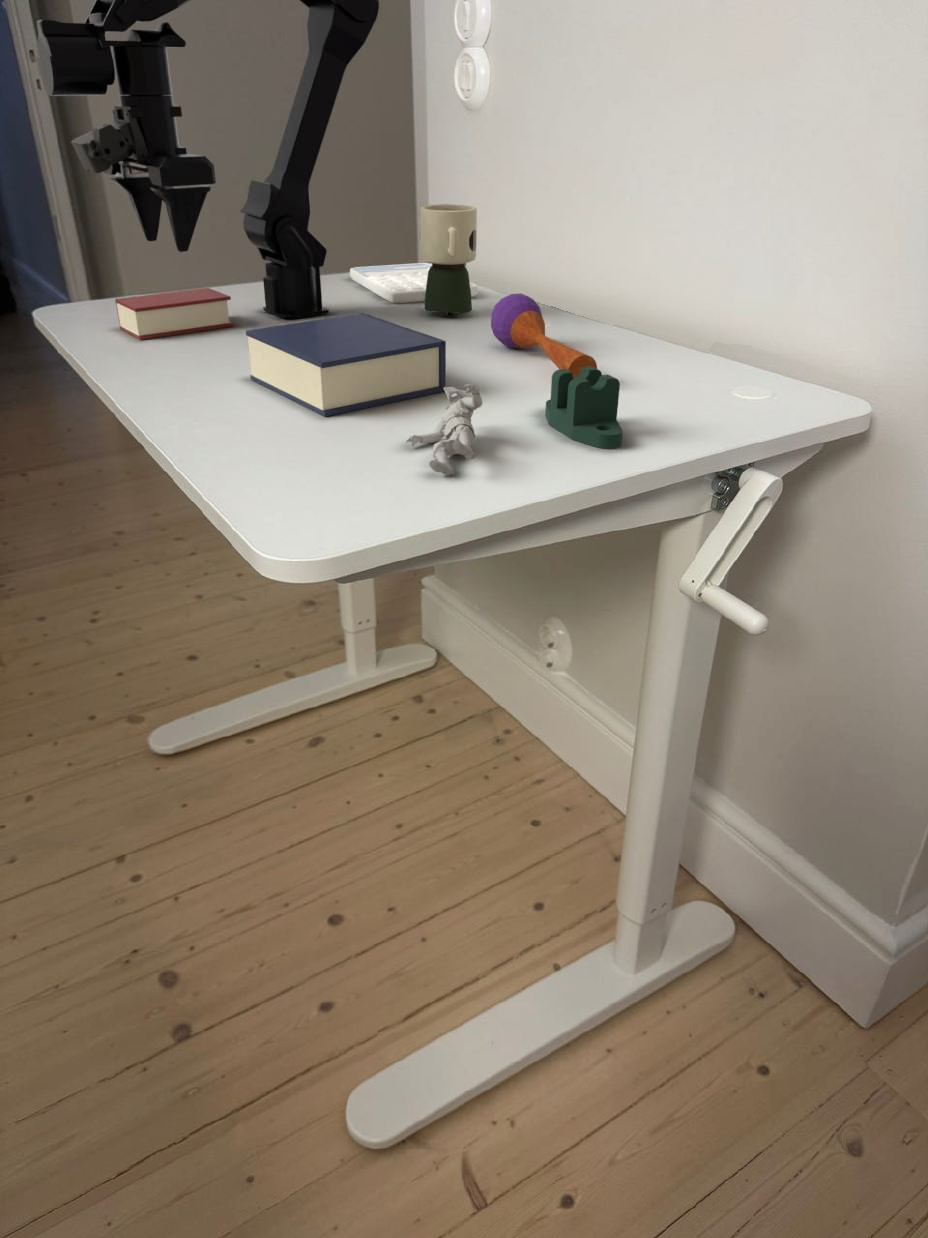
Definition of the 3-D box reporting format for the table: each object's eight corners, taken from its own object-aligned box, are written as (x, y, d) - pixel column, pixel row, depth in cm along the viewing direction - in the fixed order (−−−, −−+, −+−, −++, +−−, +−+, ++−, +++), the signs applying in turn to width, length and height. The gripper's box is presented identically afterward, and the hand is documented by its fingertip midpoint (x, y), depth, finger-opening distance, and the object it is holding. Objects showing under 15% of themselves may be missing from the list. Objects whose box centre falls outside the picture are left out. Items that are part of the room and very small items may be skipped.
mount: (531, 414, 90) (534, 360, 87) (573, 408, 91) (576, 356, 89) (591, 451, 81) (596, 393, 79) (636, 444, 83) (642, 387, 80)
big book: (364, 358, 106) (363, 312, 103) (445, 390, 96) (446, 340, 93) (250, 379, 98) (245, 330, 96) (325, 416, 88) (321, 362, 86)
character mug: (481, 322, 122) (483, 212, 115) (425, 324, 121) (425, 213, 114) (468, 304, 131) (470, 201, 124) (417, 305, 130) (415, 202, 123)
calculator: (391, 304, 130) (391, 290, 129) (347, 278, 146) (347, 265, 145) (480, 297, 135) (480, 283, 134) (428, 272, 151) (428, 259, 150)
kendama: (553, 350, 94) (479, 294, 110) (558, 406, 98) (486, 344, 113) (607, 335, 95) (527, 281, 111) (609, 390, 99) (532, 331, 114)
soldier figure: (402, 487, 76) (396, 398, 84) (444, 517, 79) (435, 428, 87) (472, 428, 73) (459, 341, 81) (514, 462, 75) (498, 374, 83)
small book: (211, 316, 123) (208, 287, 121) (233, 326, 118) (230, 296, 117) (120, 329, 116) (115, 298, 115) (140, 339, 112) (135, 308, 110)
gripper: (44, 93, 107) (72, 241, 115) (103, 98, 94) (129, 264, 102) (140, 92, 113) (160, 233, 121) (208, 97, 100) (225, 254, 108)
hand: (167, 245), depth 113 cm, fingers open, 9 cm apart
